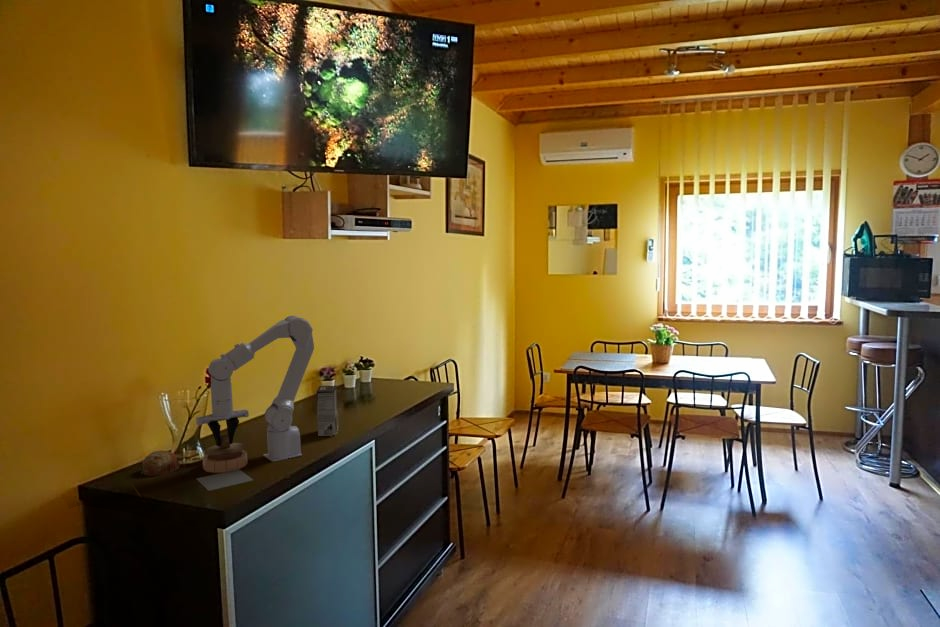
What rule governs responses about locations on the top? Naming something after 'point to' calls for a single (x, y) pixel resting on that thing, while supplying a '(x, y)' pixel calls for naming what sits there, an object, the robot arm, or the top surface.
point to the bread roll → (160, 463)
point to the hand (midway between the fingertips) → (224, 444)
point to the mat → (224, 479)
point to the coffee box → (327, 410)
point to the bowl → (225, 462)
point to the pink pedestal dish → (224, 447)
